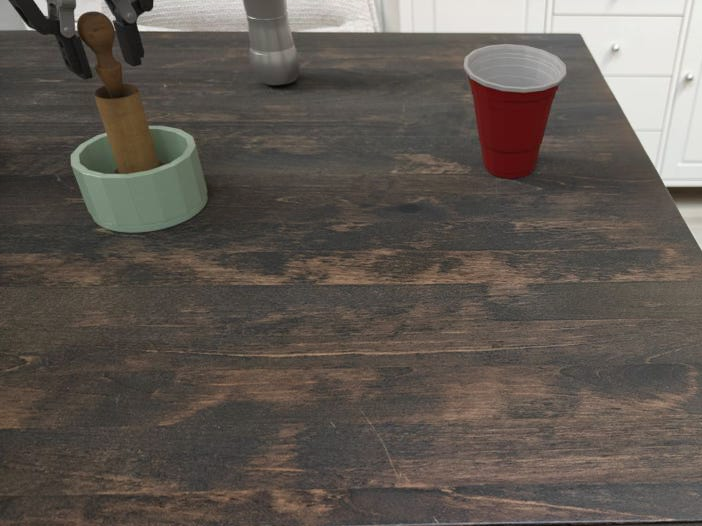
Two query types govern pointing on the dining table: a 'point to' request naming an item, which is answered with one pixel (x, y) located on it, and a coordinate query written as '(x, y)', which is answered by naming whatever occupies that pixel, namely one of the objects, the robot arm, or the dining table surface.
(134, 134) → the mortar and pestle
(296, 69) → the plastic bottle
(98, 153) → the holder
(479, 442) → the dining table surface
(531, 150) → the plastic cup
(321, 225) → the dining table surface
